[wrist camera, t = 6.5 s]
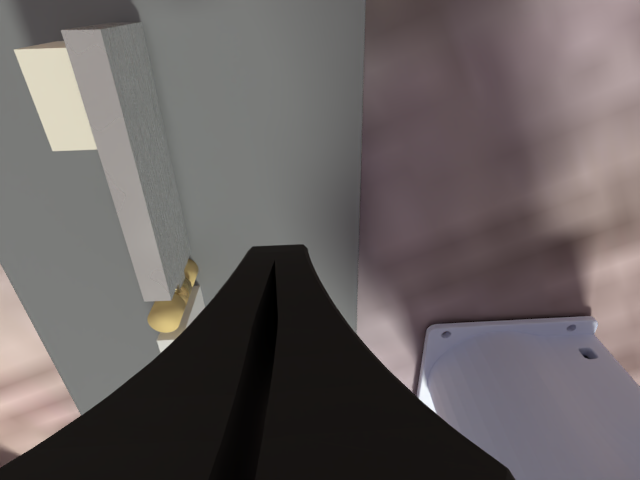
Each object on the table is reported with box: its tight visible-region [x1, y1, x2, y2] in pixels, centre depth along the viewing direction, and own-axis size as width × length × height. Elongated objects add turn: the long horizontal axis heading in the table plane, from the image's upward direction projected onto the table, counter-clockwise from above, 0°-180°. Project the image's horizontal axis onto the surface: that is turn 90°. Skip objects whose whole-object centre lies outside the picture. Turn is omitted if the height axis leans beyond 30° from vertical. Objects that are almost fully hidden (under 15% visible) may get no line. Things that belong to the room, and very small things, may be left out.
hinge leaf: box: [61, 22, 192, 305], centre depth 15 cm, size 11×1×3 cm, turn 1°
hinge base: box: [0, 0, 366, 415], centre depth 18 cm, size 16×22×4 cm
